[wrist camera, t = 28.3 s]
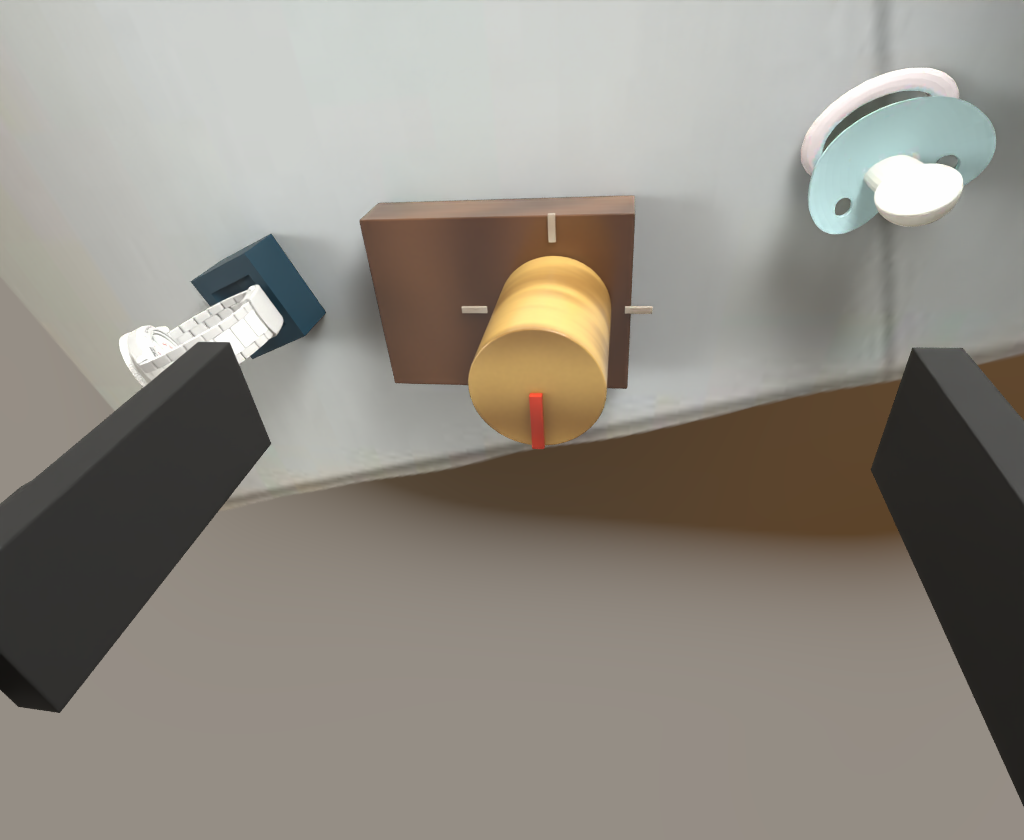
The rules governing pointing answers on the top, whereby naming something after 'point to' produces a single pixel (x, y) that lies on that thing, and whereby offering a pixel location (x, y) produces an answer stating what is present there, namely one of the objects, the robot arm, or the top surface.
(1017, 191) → the top surface
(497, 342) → the dial
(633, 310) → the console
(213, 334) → the watch
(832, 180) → the pacifier
